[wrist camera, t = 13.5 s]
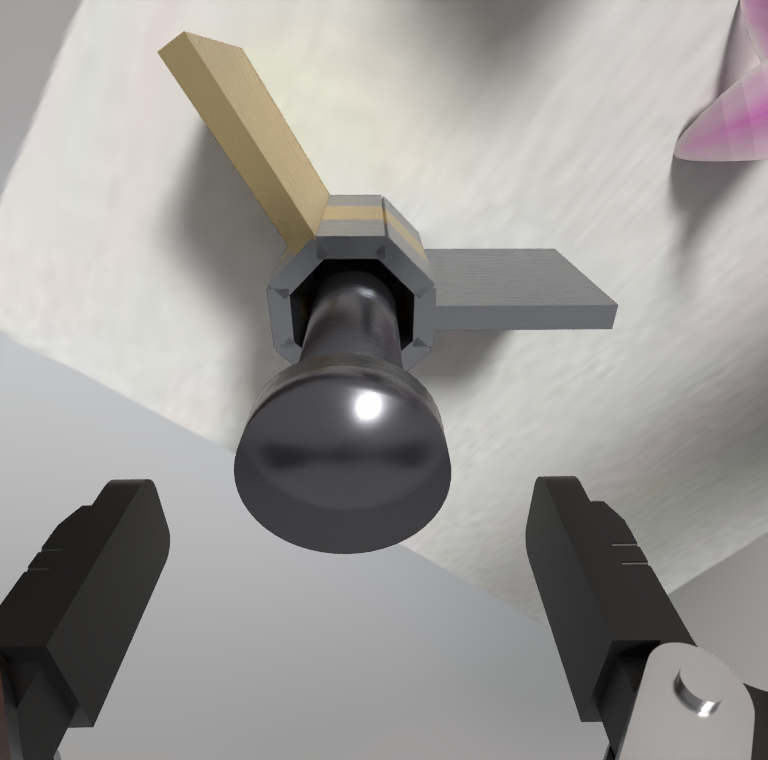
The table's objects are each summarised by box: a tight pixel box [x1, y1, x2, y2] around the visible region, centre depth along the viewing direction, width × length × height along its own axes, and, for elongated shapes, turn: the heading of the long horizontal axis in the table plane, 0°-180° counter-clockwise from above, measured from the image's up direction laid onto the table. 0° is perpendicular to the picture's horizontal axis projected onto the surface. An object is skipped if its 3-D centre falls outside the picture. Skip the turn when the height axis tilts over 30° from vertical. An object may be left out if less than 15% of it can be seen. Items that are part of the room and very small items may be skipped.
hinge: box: [158, 31, 618, 371], centre depth 21 cm, size 15×12×8 cm
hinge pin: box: [234, 259, 451, 554], centre depth 18 cm, size 5×5×16 cm
